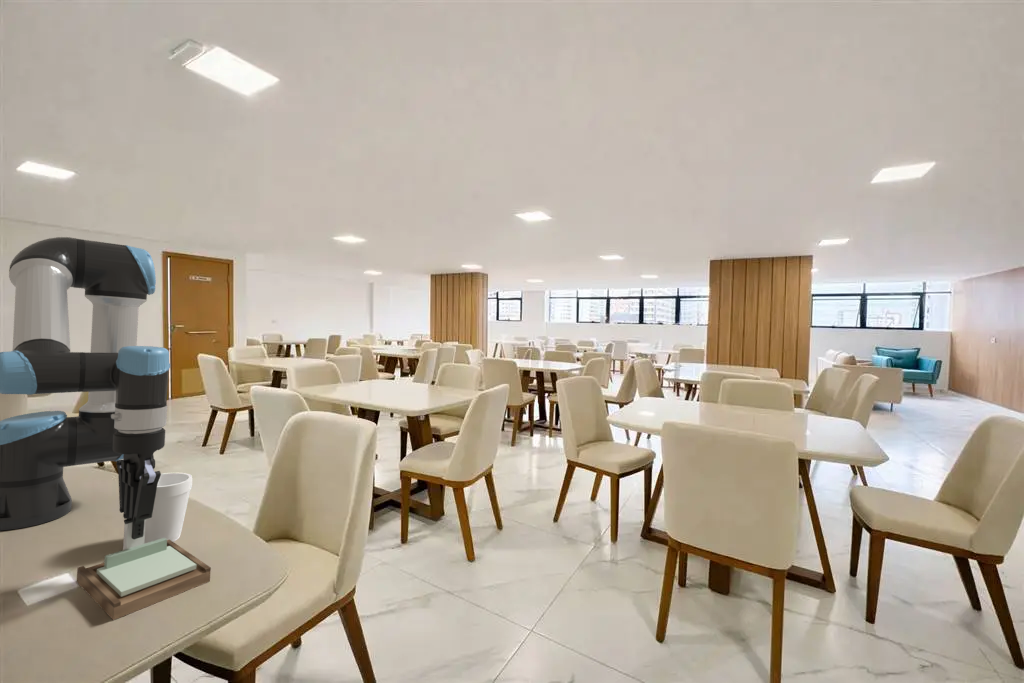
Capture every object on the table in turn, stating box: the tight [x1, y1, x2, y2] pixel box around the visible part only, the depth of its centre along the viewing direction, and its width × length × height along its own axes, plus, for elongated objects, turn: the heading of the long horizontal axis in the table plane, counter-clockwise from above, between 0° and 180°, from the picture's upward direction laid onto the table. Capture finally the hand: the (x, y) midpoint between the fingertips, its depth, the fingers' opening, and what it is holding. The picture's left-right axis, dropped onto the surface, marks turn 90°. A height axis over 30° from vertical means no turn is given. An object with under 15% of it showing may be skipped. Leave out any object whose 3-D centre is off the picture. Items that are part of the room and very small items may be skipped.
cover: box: [97, 538, 197, 597], centre depth 81 cm, size 11×11×3 cm
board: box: [76, 539, 212, 621], centre depth 81 cm, size 17×14×3 cm
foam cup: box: [144, 472, 193, 544], centre depth 96 cm, size 10×9×13 cm
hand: (133, 552), depth 84 cm, fingers closed
